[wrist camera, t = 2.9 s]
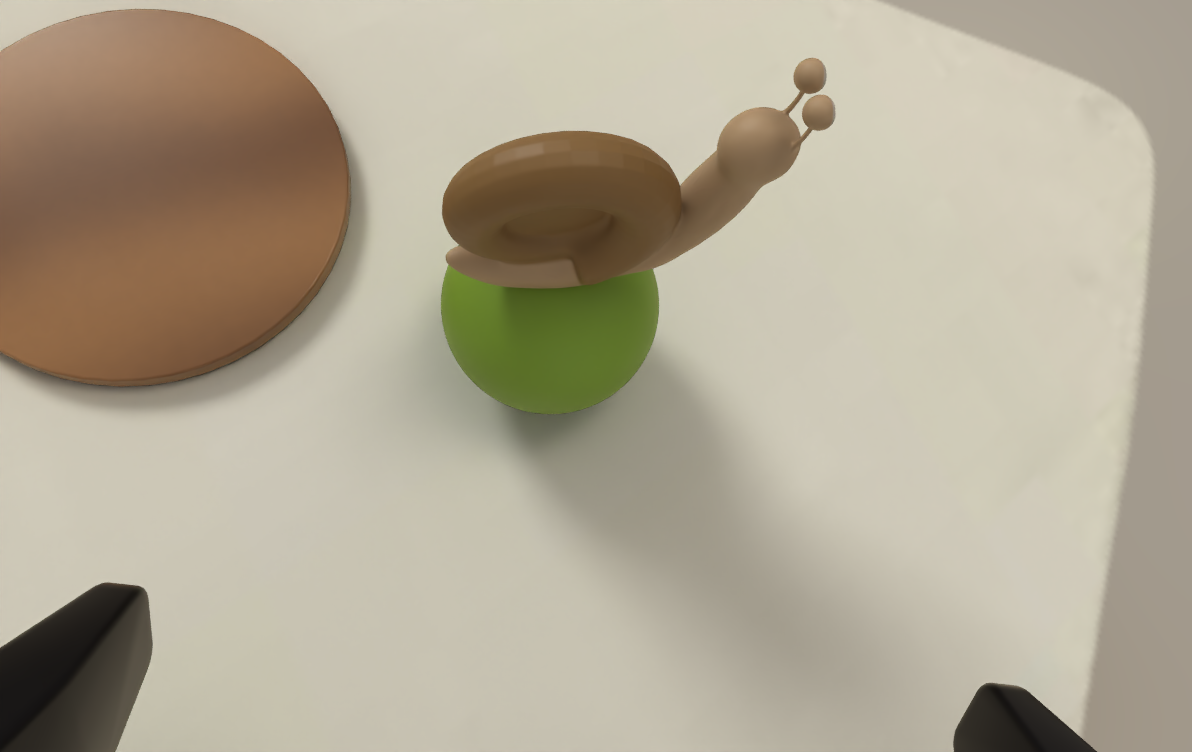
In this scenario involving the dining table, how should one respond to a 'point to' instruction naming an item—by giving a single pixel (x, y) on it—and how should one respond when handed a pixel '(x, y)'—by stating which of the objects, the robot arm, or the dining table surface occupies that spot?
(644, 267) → the snail figurine
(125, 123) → the plate
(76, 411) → the dining table surface
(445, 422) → the dining table surface
